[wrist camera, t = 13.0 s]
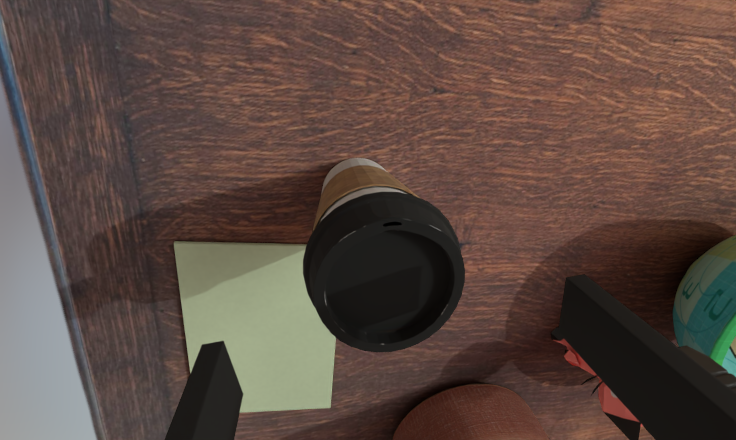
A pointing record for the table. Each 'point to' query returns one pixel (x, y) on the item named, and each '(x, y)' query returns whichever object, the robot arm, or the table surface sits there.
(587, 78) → the table surface
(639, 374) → the robot arm
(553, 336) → the cat figurine
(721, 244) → the bowl
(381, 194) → the coffee cup
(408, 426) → the planter
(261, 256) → the sage mat
